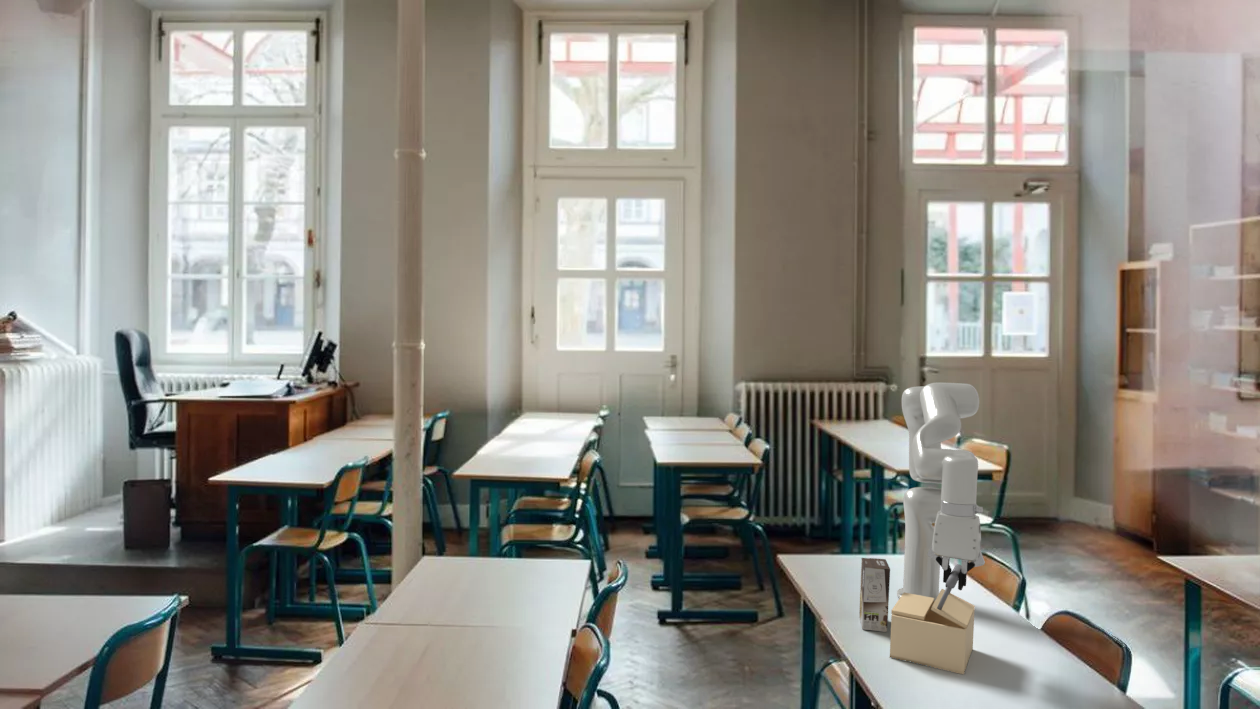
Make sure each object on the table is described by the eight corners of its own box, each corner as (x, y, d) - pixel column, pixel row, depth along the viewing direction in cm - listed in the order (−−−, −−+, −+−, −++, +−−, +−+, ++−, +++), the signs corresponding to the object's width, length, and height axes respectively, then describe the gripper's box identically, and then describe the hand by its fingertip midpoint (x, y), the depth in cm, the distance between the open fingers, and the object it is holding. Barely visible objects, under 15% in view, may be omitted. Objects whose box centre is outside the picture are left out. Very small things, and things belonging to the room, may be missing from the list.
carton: (902, 634, 198) (904, 591, 197) (972, 649, 190) (974, 604, 189) (888, 657, 184) (890, 611, 183) (963, 674, 176) (966, 626, 175)
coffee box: (888, 632, 199) (890, 569, 198) (861, 629, 200) (864, 567, 199) (884, 619, 208) (886, 558, 207) (858, 616, 209) (861, 556, 208)
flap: (973, 608, 189) (988, 578, 187) (965, 628, 176) (981, 596, 174) (940, 591, 192) (954, 561, 191) (930, 609, 180) (945, 577, 178)
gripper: (997, 510, 182) (993, 589, 183) (924, 501, 190) (921, 576, 191) (993, 517, 176) (989, 599, 177) (918, 507, 184) (915, 585, 185)
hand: (954, 586), depth 184 cm, fingers closed
